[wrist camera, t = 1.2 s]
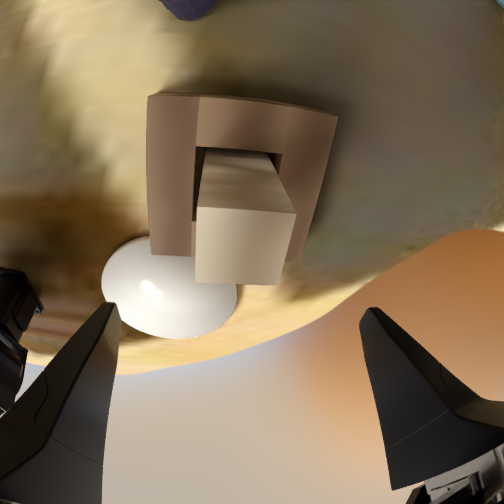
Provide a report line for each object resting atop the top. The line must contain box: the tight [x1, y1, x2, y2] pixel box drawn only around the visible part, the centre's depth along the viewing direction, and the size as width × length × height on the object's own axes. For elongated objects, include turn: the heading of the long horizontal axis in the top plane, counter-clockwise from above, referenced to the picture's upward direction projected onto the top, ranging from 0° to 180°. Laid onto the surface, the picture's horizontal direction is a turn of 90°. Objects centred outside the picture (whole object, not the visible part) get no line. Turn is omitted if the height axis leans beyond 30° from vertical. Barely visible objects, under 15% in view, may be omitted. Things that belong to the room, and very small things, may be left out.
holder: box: [146, 93, 338, 262], centre depth 18 cm, size 11×11×2 cm
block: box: [195, 147, 297, 285], centre depth 16 cm, size 4×4×9 cm
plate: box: [101, 236, 237, 339], centre depth 25 cm, size 13×13×1 cm
